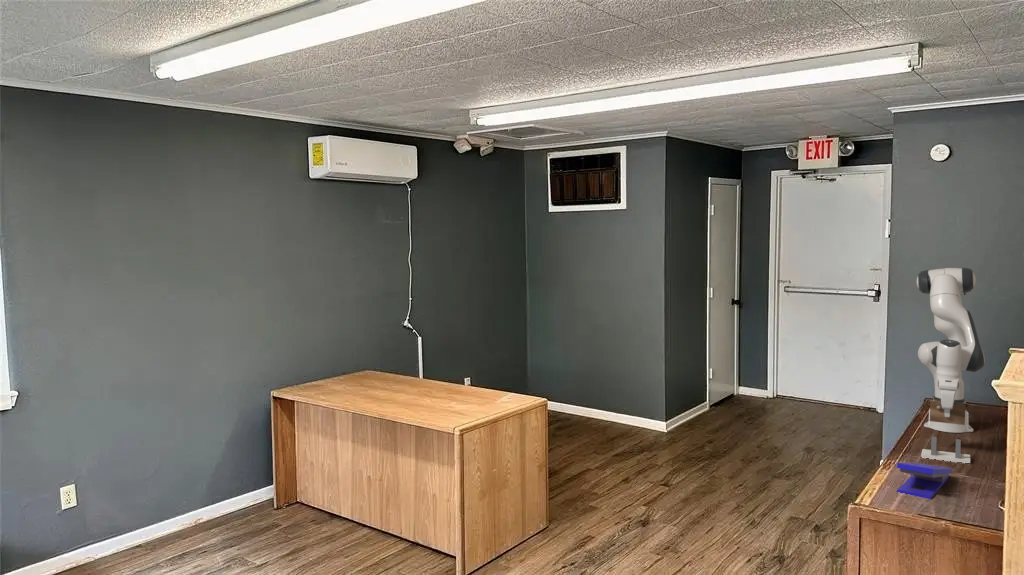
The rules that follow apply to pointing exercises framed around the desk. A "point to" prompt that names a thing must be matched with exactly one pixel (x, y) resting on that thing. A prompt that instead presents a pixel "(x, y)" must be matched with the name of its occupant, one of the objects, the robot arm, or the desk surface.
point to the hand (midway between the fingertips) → (947, 415)
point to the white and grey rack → (945, 453)
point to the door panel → (955, 414)
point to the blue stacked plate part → (923, 479)
